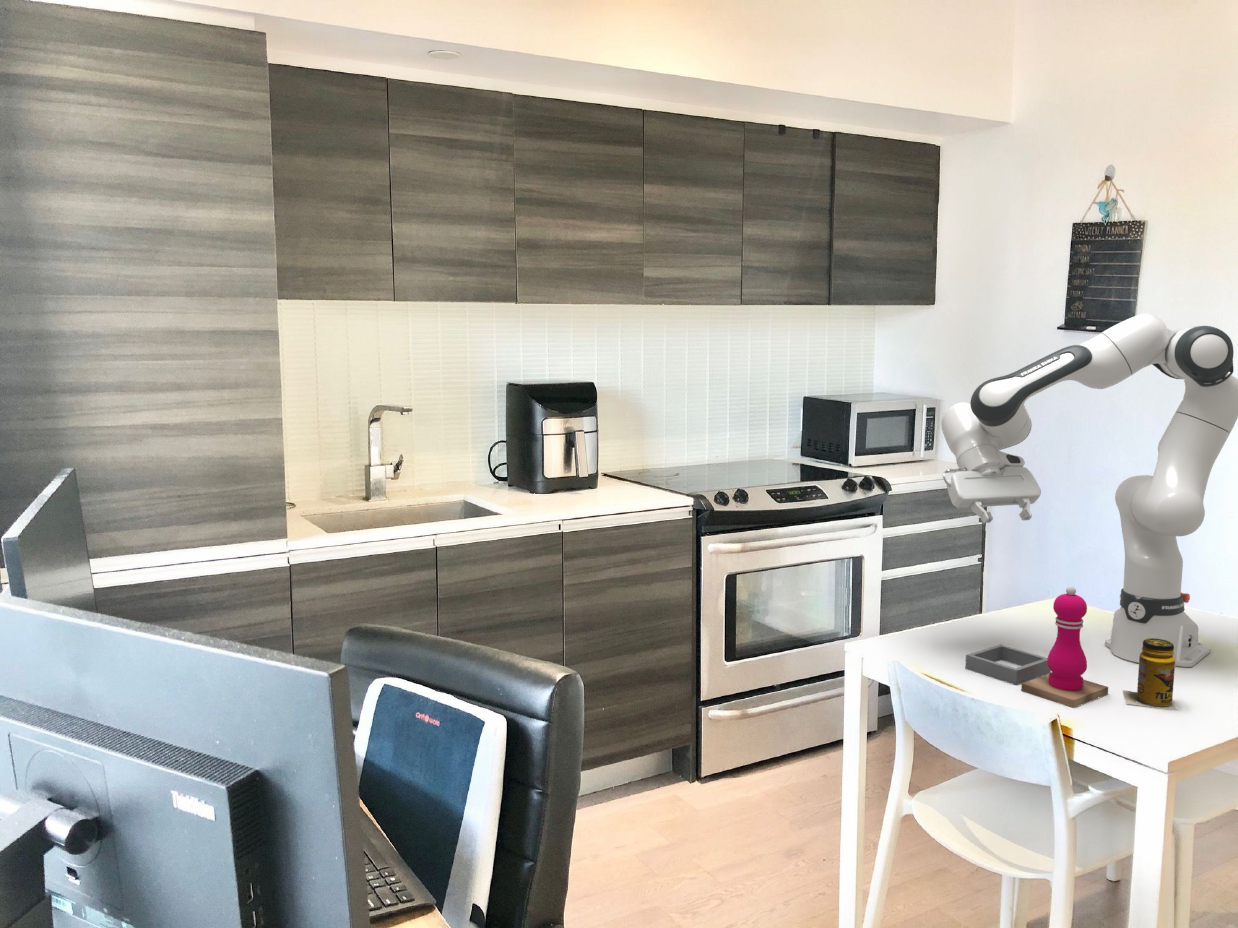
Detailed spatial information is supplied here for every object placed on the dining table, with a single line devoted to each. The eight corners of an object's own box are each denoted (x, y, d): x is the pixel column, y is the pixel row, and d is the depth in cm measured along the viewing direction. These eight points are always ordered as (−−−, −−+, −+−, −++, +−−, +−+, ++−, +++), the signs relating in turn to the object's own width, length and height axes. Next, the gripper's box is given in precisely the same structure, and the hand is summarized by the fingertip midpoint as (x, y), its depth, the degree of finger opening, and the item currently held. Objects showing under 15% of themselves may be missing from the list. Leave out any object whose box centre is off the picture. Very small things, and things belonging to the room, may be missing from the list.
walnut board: (1056, 678, 205) (1056, 671, 204) (1107, 694, 196) (1108, 686, 195) (1021, 690, 198) (1021, 683, 198) (1073, 707, 189) (1073, 700, 189)
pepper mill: (1090, 692, 192) (1096, 592, 190) (1050, 690, 194) (1055, 590, 191) (1080, 679, 199) (1086, 582, 197) (1042, 677, 201) (1047, 581, 198)
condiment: (1176, 710, 187) (1181, 649, 186) (1126, 704, 190) (1130, 644, 189) (1171, 697, 194) (1175, 637, 192) (1122, 691, 197) (1126, 633, 195)
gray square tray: (999, 657, 218) (1000, 644, 217) (1050, 672, 208) (1051, 658, 207) (965, 668, 211) (966, 654, 210) (1016, 684, 201) (1016, 670, 201)
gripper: (946, 460, 212) (971, 514, 204) (1029, 457, 217) (1056, 508, 209) (933, 478, 217) (957, 531, 209) (1015, 474, 222) (1041, 525, 214)
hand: (1008, 520), depth 209 cm, fingers open, 8 cm apart
